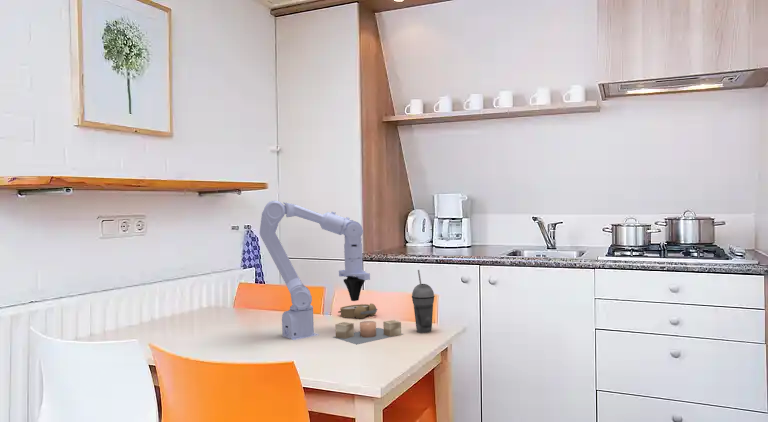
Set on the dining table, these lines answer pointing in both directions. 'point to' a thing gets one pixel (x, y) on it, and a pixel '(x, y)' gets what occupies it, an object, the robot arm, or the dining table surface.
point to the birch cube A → (344, 330)
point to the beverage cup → (423, 306)
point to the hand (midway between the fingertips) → (354, 300)
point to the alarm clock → (358, 311)
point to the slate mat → (359, 340)
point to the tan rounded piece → (368, 329)
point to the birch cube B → (392, 328)
